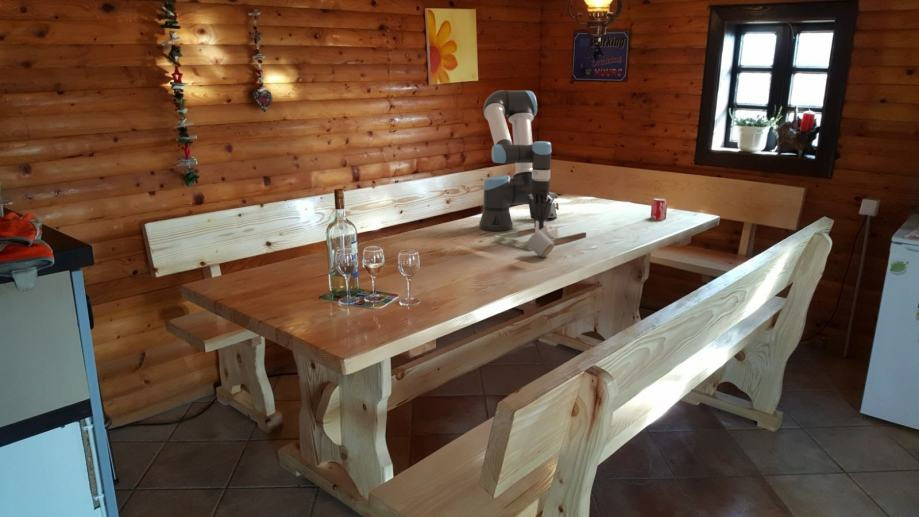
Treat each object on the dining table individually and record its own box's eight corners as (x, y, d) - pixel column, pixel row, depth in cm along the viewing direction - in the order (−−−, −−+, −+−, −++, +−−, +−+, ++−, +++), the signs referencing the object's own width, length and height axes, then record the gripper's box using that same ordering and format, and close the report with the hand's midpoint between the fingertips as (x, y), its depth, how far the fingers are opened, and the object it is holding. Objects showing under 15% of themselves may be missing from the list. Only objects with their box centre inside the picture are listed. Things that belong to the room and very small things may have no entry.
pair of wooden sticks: (493, 241, 279) (494, 235, 278) (546, 230, 302) (547, 225, 301) (533, 250, 264) (533, 244, 263) (585, 238, 287) (586, 232, 286)
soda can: (667, 223, 320) (669, 198, 317) (663, 226, 314) (665, 200, 311) (652, 222, 324) (654, 197, 321) (648, 224, 318) (650, 199, 315)
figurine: (541, 220, 327) (542, 189, 324) (560, 223, 319) (561, 191, 316) (529, 222, 321) (530, 191, 317) (548, 225, 313) (549, 193, 309)
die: (562, 234, 282) (561, 225, 273) (554, 253, 280) (553, 245, 271) (543, 227, 285) (542, 219, 275) (535, 246, 283) (533, 238, 273)
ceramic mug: (540, 262, 252) (546, 249, 247) (524, 248, 255) (529, 235, 249) (557, 248, 258) (563, 235, 252) (541, 235, 261) (546, 222, 255)
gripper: (522, 178, 278) (521, 234, 284) (547, 182, 269) (544, 239, 274) (534, 177, 283) (532, 232, 289) (559, 180, 274) (556, 237, 279)
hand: (538, 236), depth 281 cm, fingers closed
